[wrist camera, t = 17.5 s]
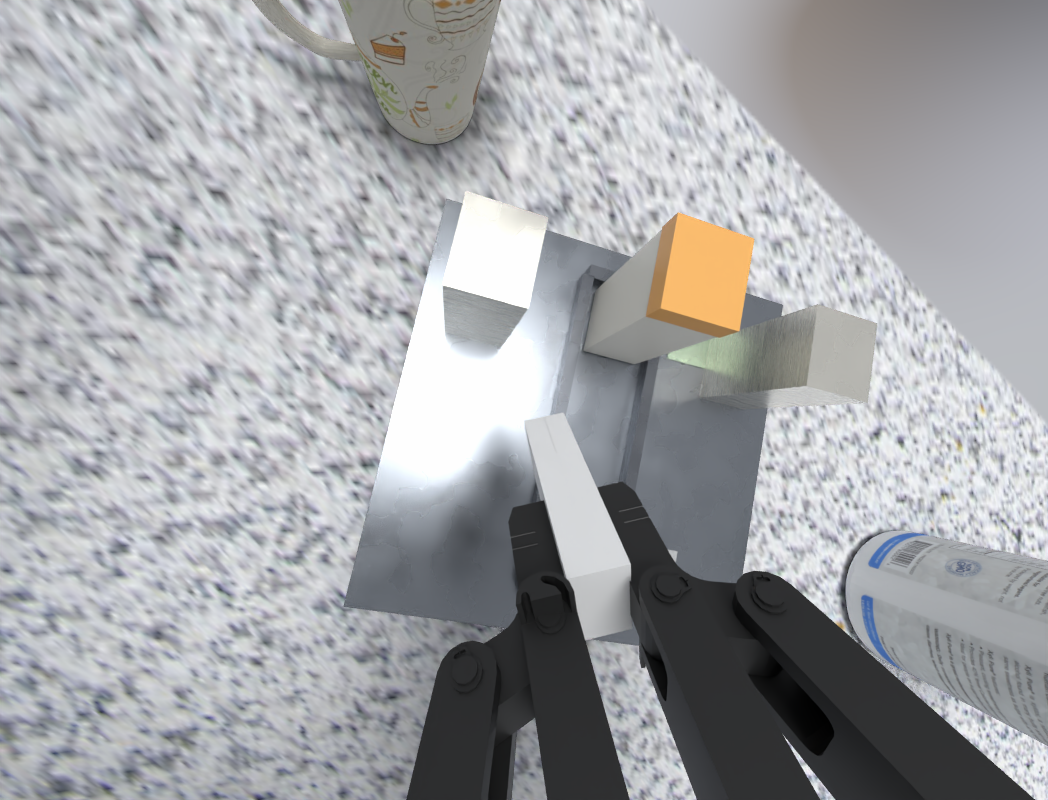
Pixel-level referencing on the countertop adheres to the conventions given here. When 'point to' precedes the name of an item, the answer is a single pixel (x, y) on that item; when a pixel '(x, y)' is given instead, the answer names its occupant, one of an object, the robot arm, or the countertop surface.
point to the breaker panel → (571, 416)
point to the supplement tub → (958, 621)
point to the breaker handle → (672, 293)
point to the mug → (410, 57)
